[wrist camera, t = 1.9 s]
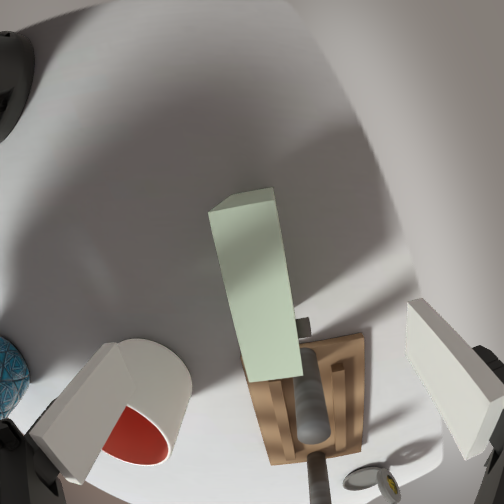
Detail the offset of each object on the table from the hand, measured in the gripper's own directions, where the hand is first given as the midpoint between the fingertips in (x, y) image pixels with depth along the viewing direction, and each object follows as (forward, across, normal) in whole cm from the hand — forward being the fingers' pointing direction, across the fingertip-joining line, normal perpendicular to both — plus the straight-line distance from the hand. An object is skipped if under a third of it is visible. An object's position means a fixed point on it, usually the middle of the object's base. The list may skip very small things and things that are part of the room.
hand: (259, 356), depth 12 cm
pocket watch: (+15, +10, -37) cm, 41 cm away
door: (+15, 0, 0) cm, 15 cm away
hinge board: (+15, +2, -19) cm, 24 cm away
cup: (+15, -15, -11) cm, 24 cm away
